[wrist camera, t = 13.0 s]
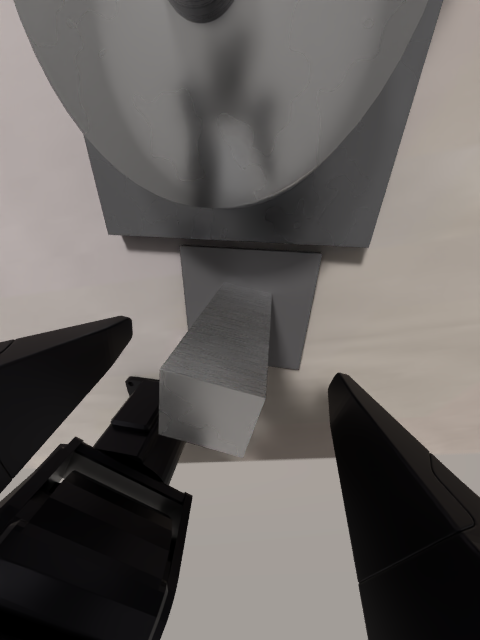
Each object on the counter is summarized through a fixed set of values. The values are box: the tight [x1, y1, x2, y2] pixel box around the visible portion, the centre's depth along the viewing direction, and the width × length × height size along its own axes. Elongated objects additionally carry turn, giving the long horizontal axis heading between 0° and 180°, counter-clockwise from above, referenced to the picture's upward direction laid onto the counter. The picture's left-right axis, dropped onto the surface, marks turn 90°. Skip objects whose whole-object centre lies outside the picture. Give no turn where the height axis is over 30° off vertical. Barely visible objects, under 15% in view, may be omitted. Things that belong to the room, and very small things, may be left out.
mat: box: [179, 245, 322, 370], centre depth 14 cm, size 8×8×1 cm
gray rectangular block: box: [159, 282, 272, 458], centre depth 10 cm, size 3×3×8 cm
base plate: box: [84, 0, 443, 248], centre depth 8 cm, size 14×14×1 cm
